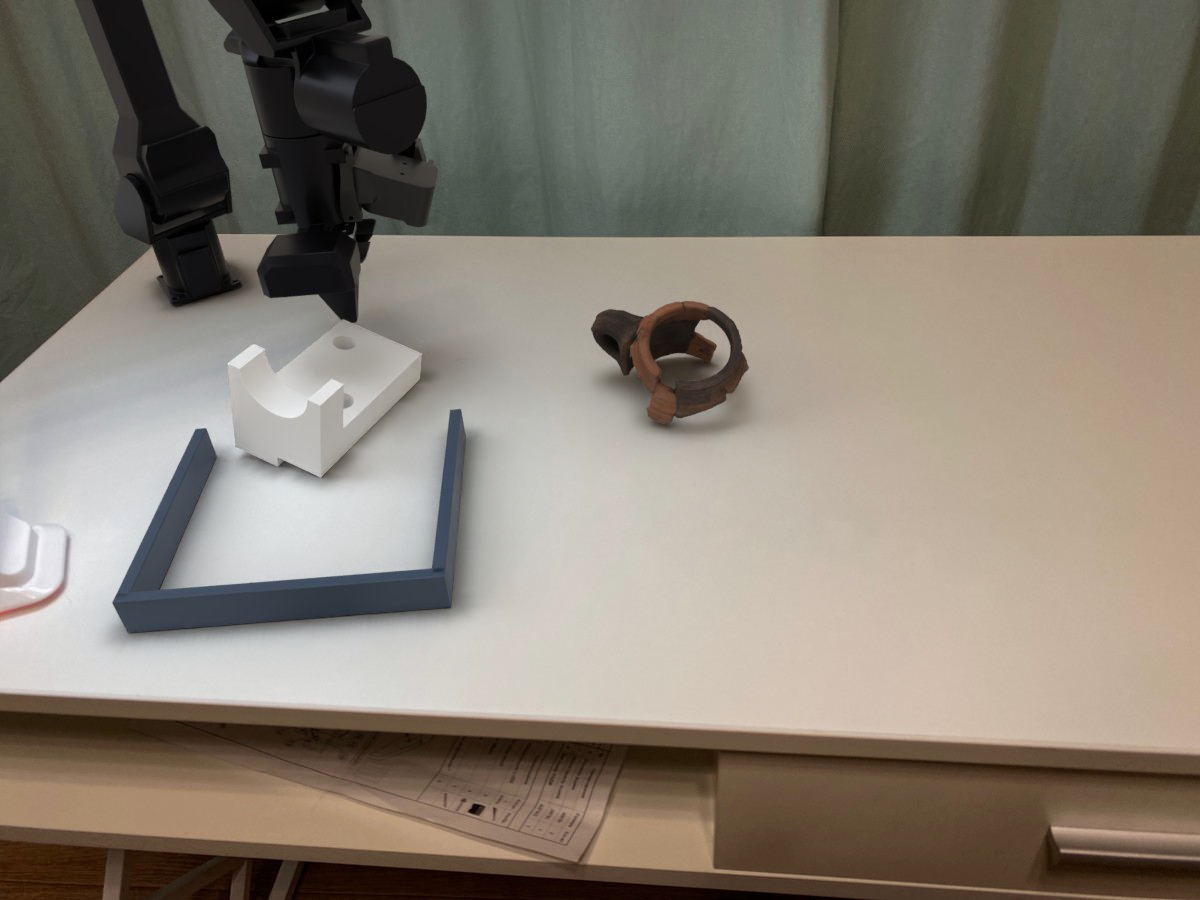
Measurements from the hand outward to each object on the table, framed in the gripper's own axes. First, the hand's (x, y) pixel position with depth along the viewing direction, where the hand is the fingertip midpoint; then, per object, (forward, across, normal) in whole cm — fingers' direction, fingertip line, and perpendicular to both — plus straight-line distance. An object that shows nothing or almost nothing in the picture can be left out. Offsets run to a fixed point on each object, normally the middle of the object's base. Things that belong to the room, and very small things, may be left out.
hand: (351, 321), depth 75 cm
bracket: (+4, -8, 0) cm, 9 cm away
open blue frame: (+3, -20, 0) cm, 20 cm away
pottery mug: (+4, -8, -24) cm, 26 cm away
